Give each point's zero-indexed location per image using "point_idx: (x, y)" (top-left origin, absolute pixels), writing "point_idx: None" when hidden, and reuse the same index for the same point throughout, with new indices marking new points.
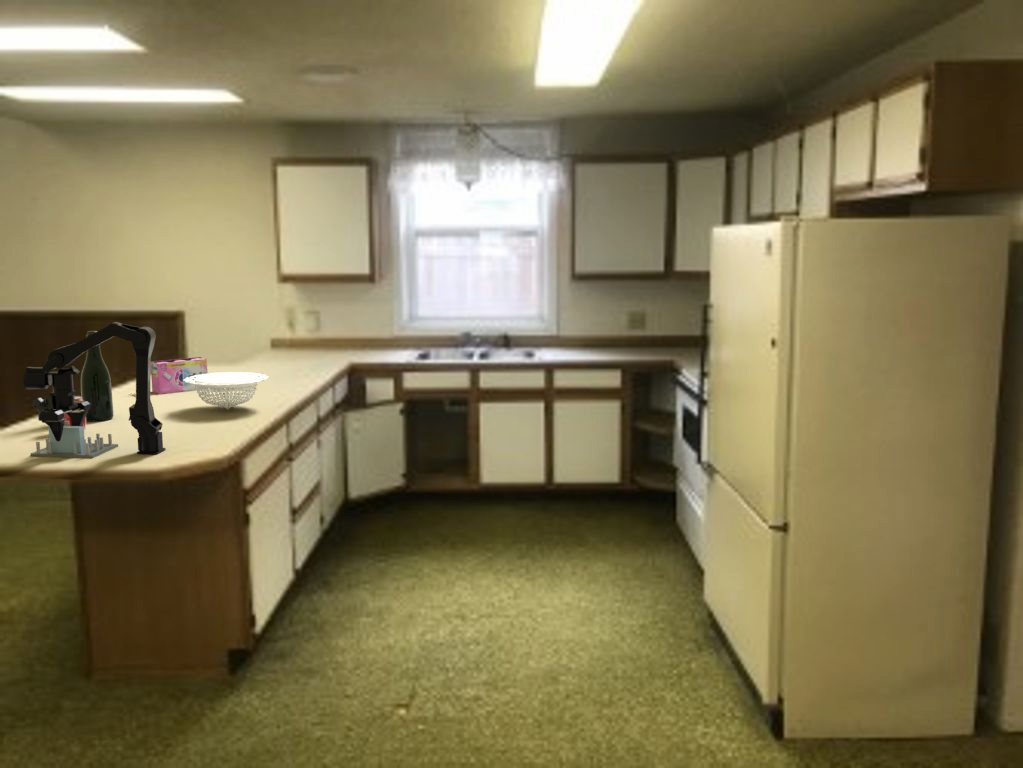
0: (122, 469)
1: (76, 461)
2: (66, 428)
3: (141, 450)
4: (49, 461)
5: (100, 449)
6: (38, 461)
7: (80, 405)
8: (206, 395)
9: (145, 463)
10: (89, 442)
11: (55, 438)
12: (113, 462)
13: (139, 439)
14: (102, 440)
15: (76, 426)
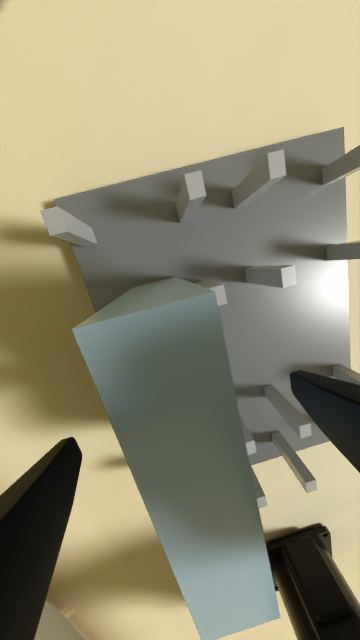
0: (96, 629)
1: (99, 471)
2: (166, 541)
3: (282, 555)
4: (39, 385)
5: (257, 444)
6: (9, 341)
7: None
8: None
9: (177, 623)
10: (281, 412)
11: (43, 460)
12: (148, 564)
13: (310, 620)
14: (298, 477)
15: (259, 579)
